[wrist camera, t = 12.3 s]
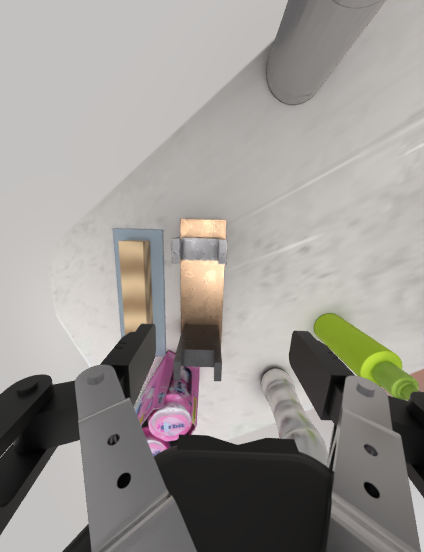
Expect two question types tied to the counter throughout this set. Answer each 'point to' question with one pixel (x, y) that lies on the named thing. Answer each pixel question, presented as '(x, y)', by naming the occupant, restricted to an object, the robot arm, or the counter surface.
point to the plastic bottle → (292, 415)
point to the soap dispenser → (365, 355)
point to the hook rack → (200, 293)
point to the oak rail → (136, 283)
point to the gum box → (168, 405)
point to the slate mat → (156, 275)
